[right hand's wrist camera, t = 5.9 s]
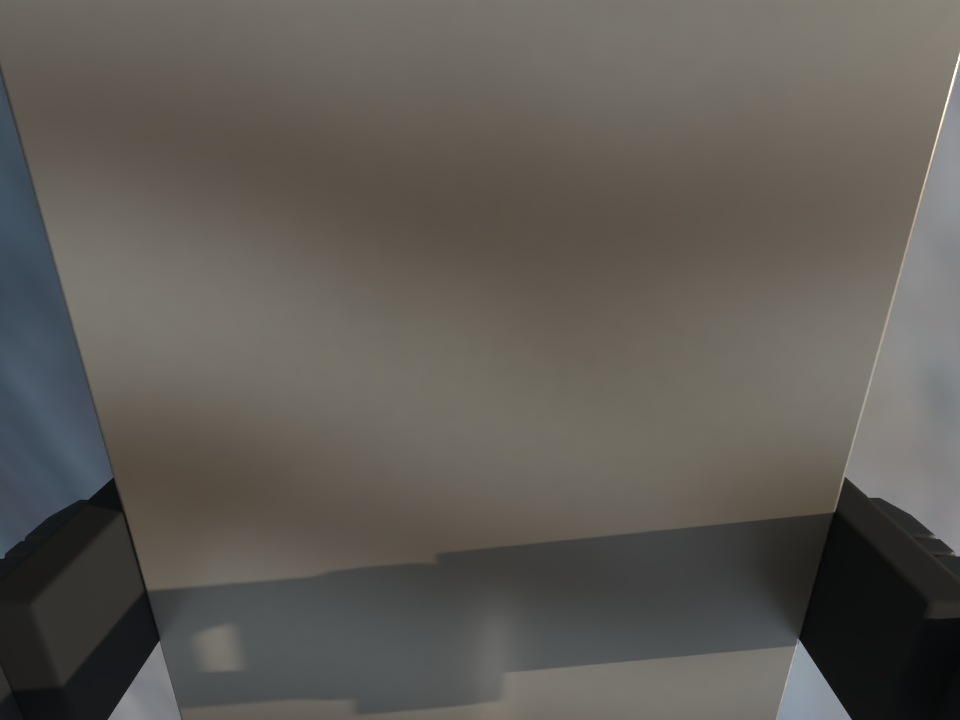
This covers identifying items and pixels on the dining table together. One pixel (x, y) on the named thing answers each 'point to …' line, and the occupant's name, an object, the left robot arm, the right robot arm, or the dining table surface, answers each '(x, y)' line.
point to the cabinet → (479, 330)
